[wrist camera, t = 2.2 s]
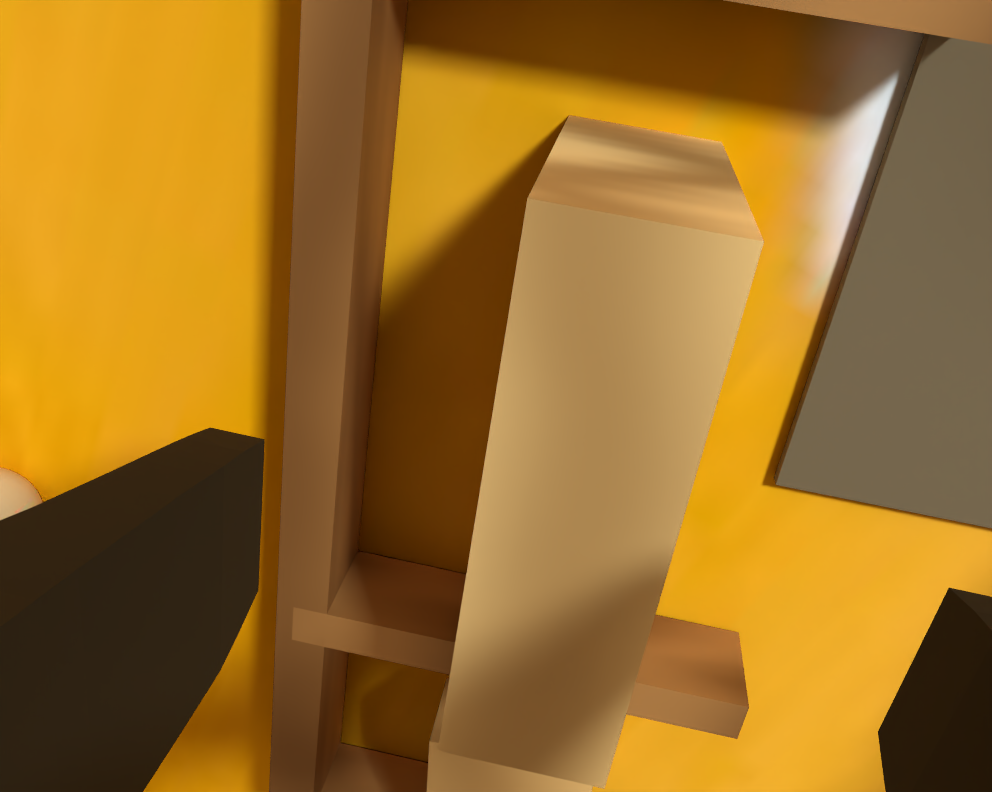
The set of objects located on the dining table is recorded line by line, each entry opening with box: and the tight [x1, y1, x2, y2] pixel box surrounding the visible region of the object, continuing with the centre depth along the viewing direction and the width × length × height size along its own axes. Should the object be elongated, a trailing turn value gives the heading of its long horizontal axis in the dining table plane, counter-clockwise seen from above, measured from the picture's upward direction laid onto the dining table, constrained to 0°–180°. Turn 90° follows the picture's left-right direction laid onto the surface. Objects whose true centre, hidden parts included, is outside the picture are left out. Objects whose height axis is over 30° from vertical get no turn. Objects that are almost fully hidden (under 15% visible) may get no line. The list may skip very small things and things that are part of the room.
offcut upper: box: [427, 678, 593, 792], centre depth 22 cm, size 4×4×2 cm
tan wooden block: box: [438, 115, 764, 789], centre depth 17 cm, size 3×10×7 cm, turn 172°
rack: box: [269, 0, 992, 792], centre depth 20 cm, size 11×23×2 cm, turn 172°
